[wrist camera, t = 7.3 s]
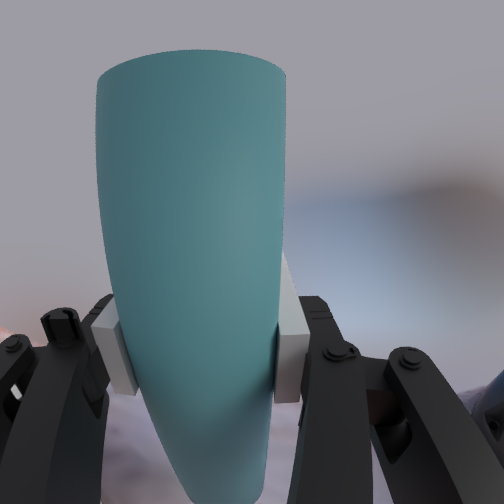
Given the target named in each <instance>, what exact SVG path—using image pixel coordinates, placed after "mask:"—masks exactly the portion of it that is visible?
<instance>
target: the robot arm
mask: <svg viewBox="0 0 504 504" xmlns="http://www.w3.org/2000/svg"><path fill="white" fill-rule="evenodd" d="M40 320H41V323H42V325H43V328H44V330H45V333H46V336H47V338H48V341H49V343H48V345H47V346H43V347H32V345H31V342H30V340H29V338H28V337H27V336H25V335H22V334H15V335H11V336H10V337H8V338H6V339H5V340H4V341H3V342H2V343H1V344H0V504H100V495H101V473H102V459H103V448H104V438H105V429H106V421H107V414H108V407H109V395H108V393H107V391H106V388H107V386H108V384H109V382H111V384H112V387H113V389H114V391H115V393H120V394H126V395H133V396H136V393H137V390H138V388H139V385H138V382H137V379H136V376H135V373H134V370H133V367H132V363H131V360H130V357H129V354H128V350H127V347H126V343H125V340H124V336H123V332H122V329H121V325H120V321H119V317H118V313H117V308H116V304H115V300H114V295H113V294H109V295H107V296H105V297H104V298H102V299H100V300H99V301H98V302H97V304H96V305H95V306H94V308H93V309H92V310H91V311H90V312H89V314H87V316H86V317H85V318H84V319H83V321H82V322H81V323H80V319H79V316H78V313H77V312H76V310H74V309H72V308H57V309H55V310H51V311H50V312H48V313H46V314H45V315H43V317H42V318H41V319H40ZM14 384H15V385H16V387H17V388H18V390H19V392H20V393H21V395H22V396H21V397H20V398H19V399H16V397H15V396H14V394H13V393H12V391H11V388H12V387H13V385H14ZM273 392H274V401H275V403H293V402H299V400H300V394H301V395H302V400H303V405H302V410H301V414H300V419H299V424H298V426H299V432H298V439H297V446H296V453H295V459H294V466H293V472H292V478H291V484H290V489H289V495H288V500H287V504H373V474H372V453H371V441H372V444H373V446H374V449H375V452H376V454H377V457H378V460H379V463H380V465H381V468H382V471H383V474H384V476H385V479H386V482H387V485H388V488H389V491H390V494H391V497H392V500H393V503H394V504H504V370H503V371H502V372H501V373H500V374H499V375H498V376H497V377H496V378H495V379H494V380H493V381H492V382H491V383H490V384H489V385H488V386H487V387H486V388H485V390H484V391H483V393H482V395H481V396H480V398H479V399H478V401H477V402H476V404H475V406H474V409H473V413H472V417H471V415H470V414H469V412H468V411H467V409H466V408H465V406H464V405H463V403H462V402H461V400H460V399H459V398H458V396H457V395H456V393H455V392H454V390H453V389H452V388H451V386H450V385H449V383H448V382H447V381H446V379H445V378H444V376H443V375H442V374H441V372H440V371H439V370H438V368H437V367H436V366H435V364H434V363H433V361H432V360H431V359H430V357H429V356H428V355H426V354H425V353H424V352H423V351H421V350H419V349H416V348H412V347H399V348H396V349H394V350H393V351H392V352H391V353H390V355H389V358H388V360H385V359H375V358H368V357H364V356H361V354H360V352H359V350H358V348H356V347H355V346H354V345H353V344H351V343H349V342H347V341H344V339H343V337H342V335H341V332H340V330H339V328H338V326H337V324H336V322H335V320H334V319H333V315H332V313H331V312H330V309H329V307H328V305H327V303H326V302H325V301H324V300H322V299H321V298H320V297H318V296H298V295H297V292H296V289H295V286H294V283H293V280H292V277H291V274H290V271H289V268H288V265H287V262H286V259H285V256H284V253H283V251H282V262H281V282H280V300H279V316H278V328H277V343H276V357H275V370H274V382H273Z"/></svg>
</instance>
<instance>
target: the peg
mask: <svg viewBox="0 0 504 504" xmlns="http://www.w3.org/2000/svg"><path fill="white" fill-rule="evenodd" d="M285 121H286V75H285V73H284V72H283V71H282V69H281V68H279V67H277V66H276V65H274V64H272V63H270V62H268V61H266V60H263V59H260V58H257V57H253V56H249V55H246V54H241V53H234V52H228V51H218V50H179V51H169V52H162V53H156V54H151V55H146V56H143V57H139V58H135V59H132V60H129V61H126V62H124V63H121V64H119V65H117V66H115V67H113V68H111V69H109V70H108V71H106V72H105V73H104V74H103V75H101V77H100V78H99V79H98V82H97V95H96V167H97V184H98V196H99V207H100V216H101V224H102V232H103V239H104V246H105V253H106V259H107V264H108V270H109V275H110V281H111V285H112V290H113V295H114V300H115V304H116V308H117V313H118V317H119V321H120V325H121V329H122V332H123V336H124V340H125V343H126V347H127V350H128V354H129V357H130V360H131V363H132V367H133V370H134V373H135V376H136V379H137V382H138V385H139V388H140V390H141V393H142V396H143V399H144V401H145V404H146V407H147V409H148V412H149V414H150V417H151V419H152V422H153V424H154V427H155V429H156V432H157V434H158V436H159V439H160V441H161V443H162V445H163V448H164V450H165V452H166V454H167V456H168V458H169V460H170V462H171V464H172V467H173V469H174V471H175V473H176V474H177V476H178V478H179V480H180V482H181V484H182V486H183V488H184V490H185V491H186V493H187V495H188V497H189V498H190V499H191V500H192V501H193V502H194V503H195V504H254V503H255V502H256V501H257V499H258V498H259V497H260V495H261V493H262V490H263V485H264V476H265V468H266V459H267V449H268V439H269V429H270V419H271V408H272V397H273V382H274V370H275V357H276V343H277V328H278V316H279V300H280V282H281V262H282V240H283V238H282V237H283V214H284V213H283V212H284V181H285V177H284V176H285V126H286V125H285V124H286V123H285Z"/></svg>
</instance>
